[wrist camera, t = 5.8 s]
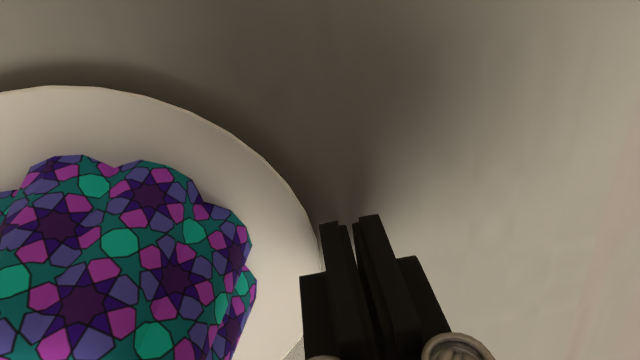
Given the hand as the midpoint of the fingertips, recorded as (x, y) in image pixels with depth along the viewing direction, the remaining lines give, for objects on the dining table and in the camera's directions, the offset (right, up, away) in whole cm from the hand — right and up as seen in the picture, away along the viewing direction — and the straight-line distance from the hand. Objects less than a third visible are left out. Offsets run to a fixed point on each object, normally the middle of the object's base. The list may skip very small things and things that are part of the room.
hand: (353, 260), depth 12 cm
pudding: (-7, 0, +1) cm, 7 cm away
